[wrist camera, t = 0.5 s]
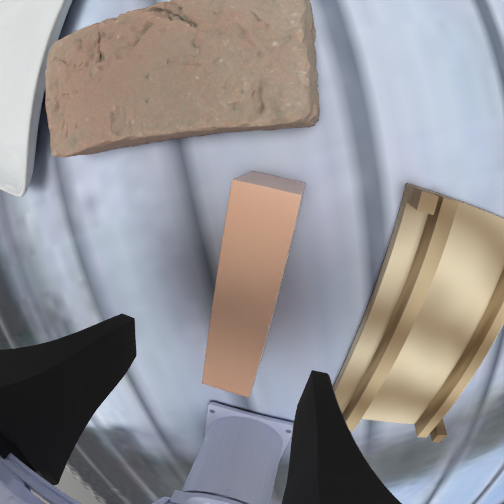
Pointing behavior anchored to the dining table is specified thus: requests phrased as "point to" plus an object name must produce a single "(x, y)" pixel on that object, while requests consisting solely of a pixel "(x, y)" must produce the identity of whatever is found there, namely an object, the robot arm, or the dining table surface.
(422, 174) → the dining table surface
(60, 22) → the salad plate
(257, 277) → the clay strip
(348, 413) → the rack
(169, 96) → the brick
